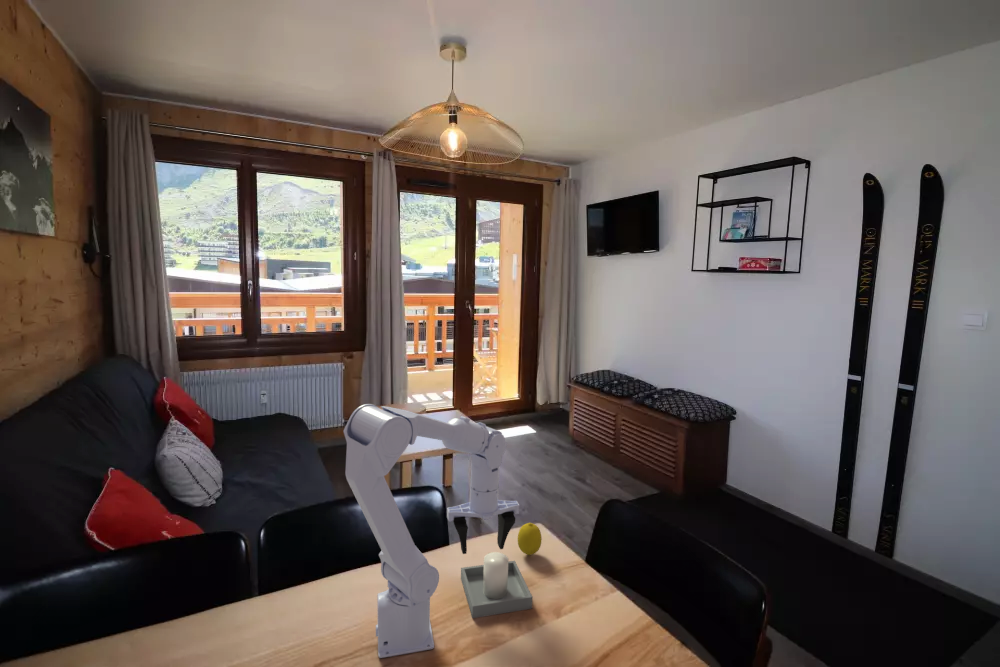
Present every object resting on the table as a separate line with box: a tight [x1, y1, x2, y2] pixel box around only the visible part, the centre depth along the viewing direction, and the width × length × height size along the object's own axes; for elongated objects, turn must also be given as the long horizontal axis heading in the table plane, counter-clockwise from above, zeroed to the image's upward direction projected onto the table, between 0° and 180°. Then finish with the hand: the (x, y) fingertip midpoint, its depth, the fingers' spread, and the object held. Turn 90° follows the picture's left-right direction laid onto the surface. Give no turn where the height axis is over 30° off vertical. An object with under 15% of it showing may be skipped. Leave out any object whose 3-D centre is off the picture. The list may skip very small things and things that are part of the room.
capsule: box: [483, 551, 509, 599], centre depth 100 cm, size 5×5×7 cm
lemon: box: [517, 522, 543, 556], centre depth 113 cm, size 6×6×8 cm
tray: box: [460, 560, 533, 619], centre depth 100 cm, size 12×12×2 cm
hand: (482, 548), depth 99 cm, fingers open, 7 cm apart
